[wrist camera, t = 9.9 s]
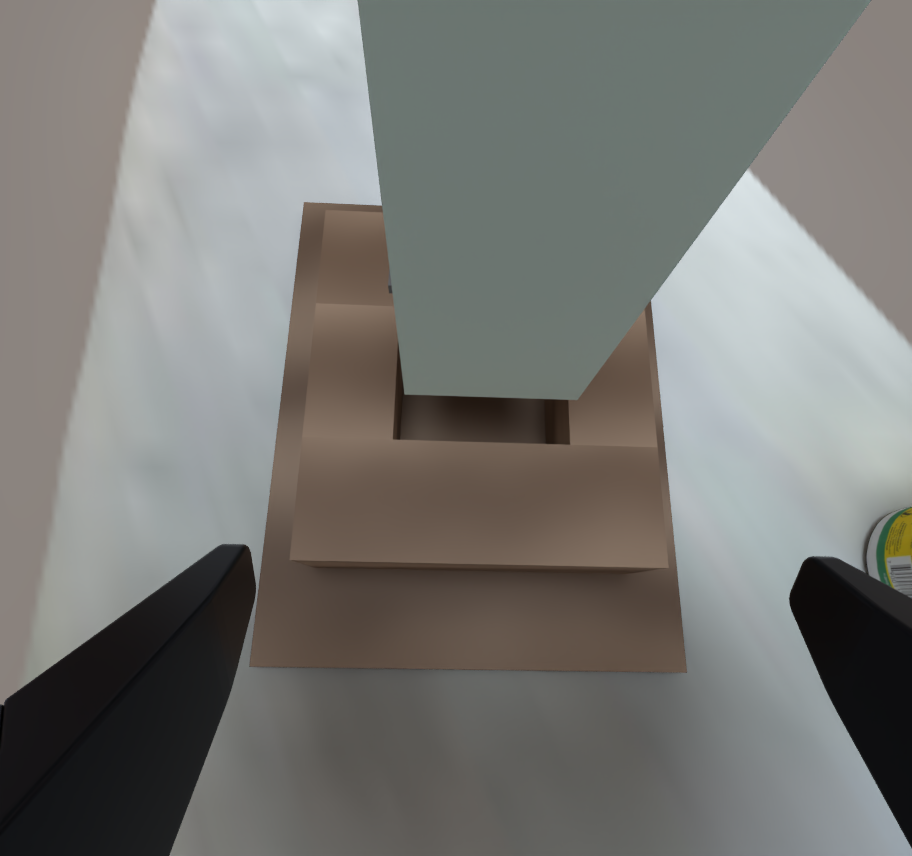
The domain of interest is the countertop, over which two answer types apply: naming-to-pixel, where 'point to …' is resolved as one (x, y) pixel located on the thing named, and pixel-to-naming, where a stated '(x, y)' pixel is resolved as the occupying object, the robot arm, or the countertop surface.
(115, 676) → the robot arm
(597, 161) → the stub
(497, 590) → the brown stepped stand
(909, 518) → the supplement bottle
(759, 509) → the countertop surface
